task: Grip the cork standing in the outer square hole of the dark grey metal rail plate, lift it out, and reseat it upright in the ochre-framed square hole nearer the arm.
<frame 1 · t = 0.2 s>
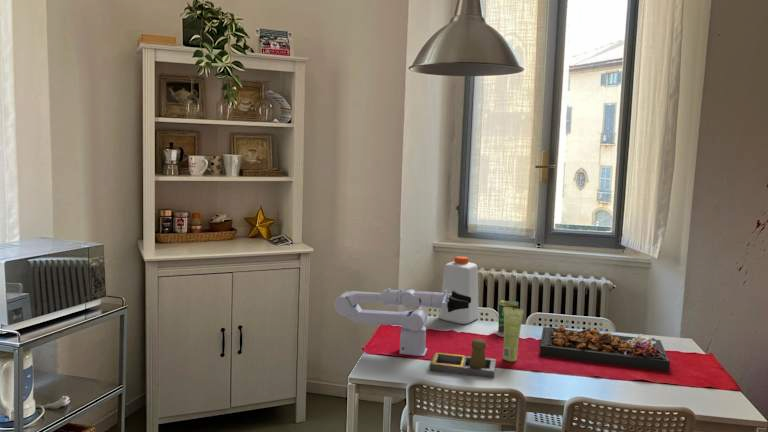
hand: (469, 302, 227), 21 cm above the table, tool horizontal, fingers open, 7 cm apart
food platter: (600, 354, 241), on the table
plastic bottle: (458, 319, 278), on the table
rail plate: (463, 368, 220), on the table
tube: (510, 360, 230), on the table
cork: (477, 370, 219), resting in rail plate
coffee box: (507, 332, 262), on the table
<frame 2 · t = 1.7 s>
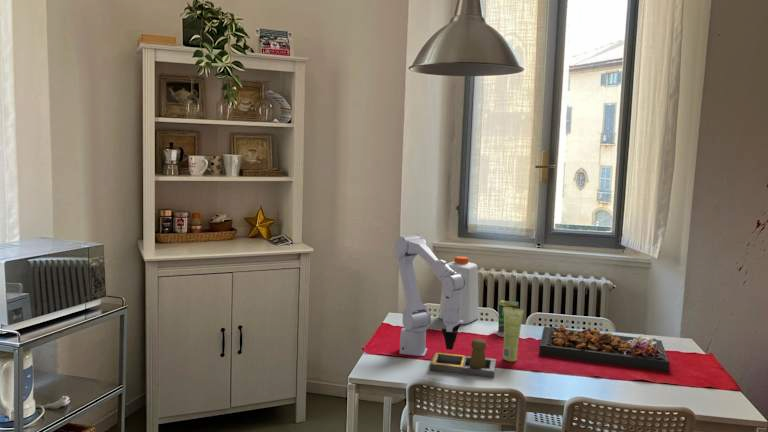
hand: (450, 345, 220), 8 cm above the table, tool pointing down, fingers open, 7 cm apart
nothing on the table moved.
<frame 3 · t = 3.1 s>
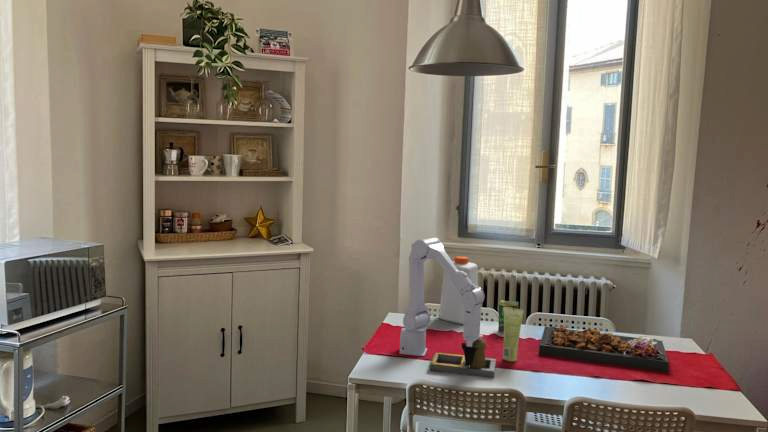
hand: (470, 359, 219), 3 cm above the table, tool pointing down, fingers open, 7 cm apart
nothing on the table moved.
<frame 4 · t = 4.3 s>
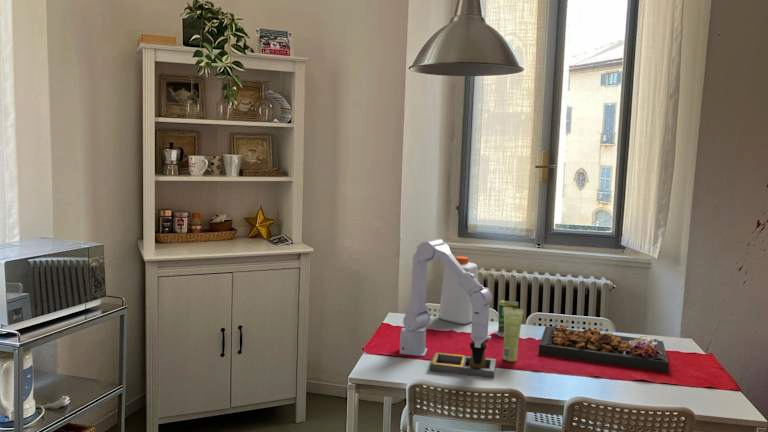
hand: (477, 360, 218), 3 cm above the table, tool pointing down, fingers closed on cork, 5 cm apart
cork: (477, 370, 219), resting in rail plate, touching gripper
everything else where it was.
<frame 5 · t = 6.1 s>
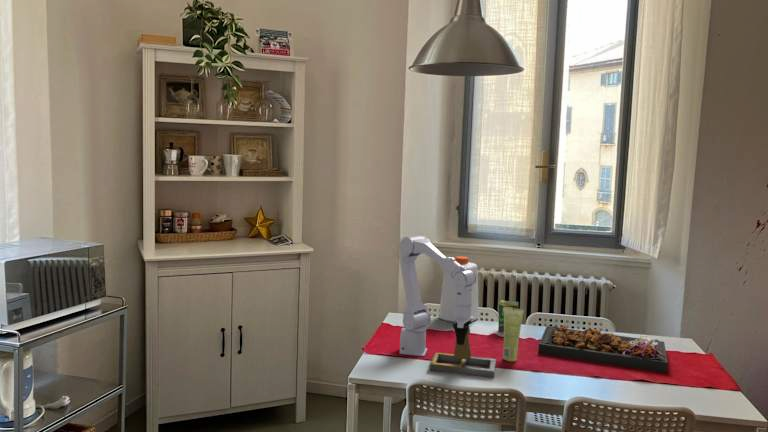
hand: (461, 341, 219), 10 cm above the table, tool pointing down, fingers closed on cork, 5 cm apart
cork: (462, 356, 219), point 4 cm above the table, touching gripper
when the fingers open (5 cm above the table, at t = 8.0 s): cork stays where it is, resting in rail plate.
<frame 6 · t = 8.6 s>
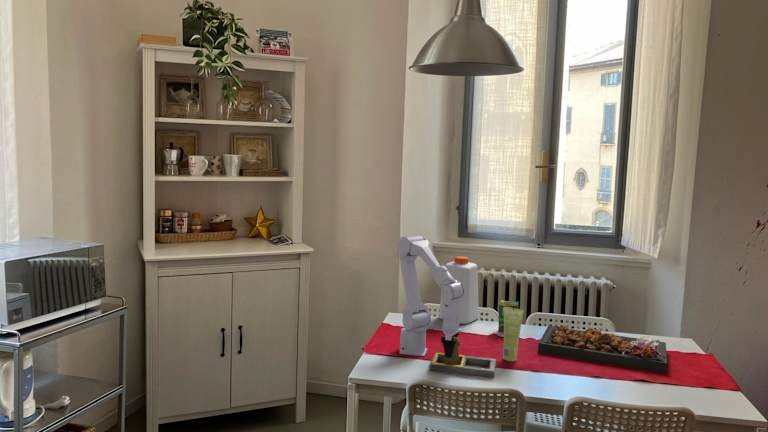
hand: (449, 353, 220), 5 cm above the table, tool pointing down, fingers open, 7 cm apart
cork: (451, 368, 220), resting in rail plate
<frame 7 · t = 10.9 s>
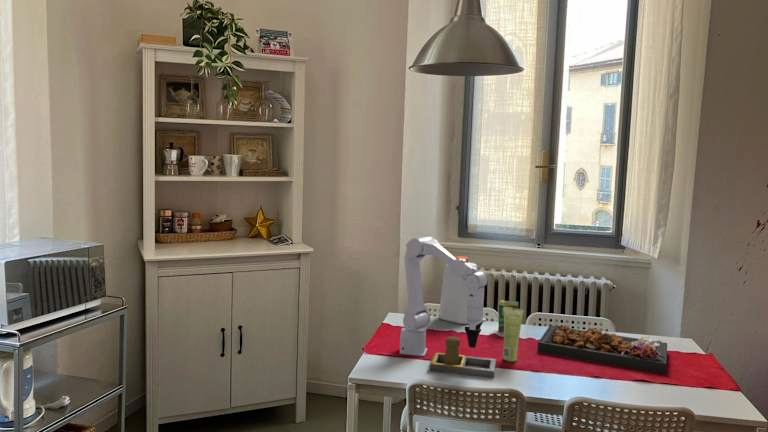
hand: (473, 343, 218), 9 cm above the table, tool pointing down, fingers open, 7 cm apart
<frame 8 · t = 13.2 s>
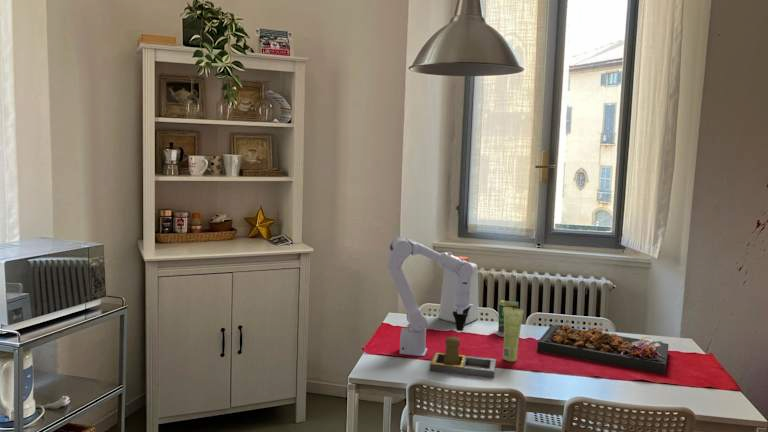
hand: (460, 327, 236), 9 cm above the table, tool pointing down, fingers open, 7 cm apart
at the end: cork 1.0 cm from the target spot on the rail plate, point 0.0 cm above the rail plate's base; cork tilted 0°; the gripper is holding nothing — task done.
